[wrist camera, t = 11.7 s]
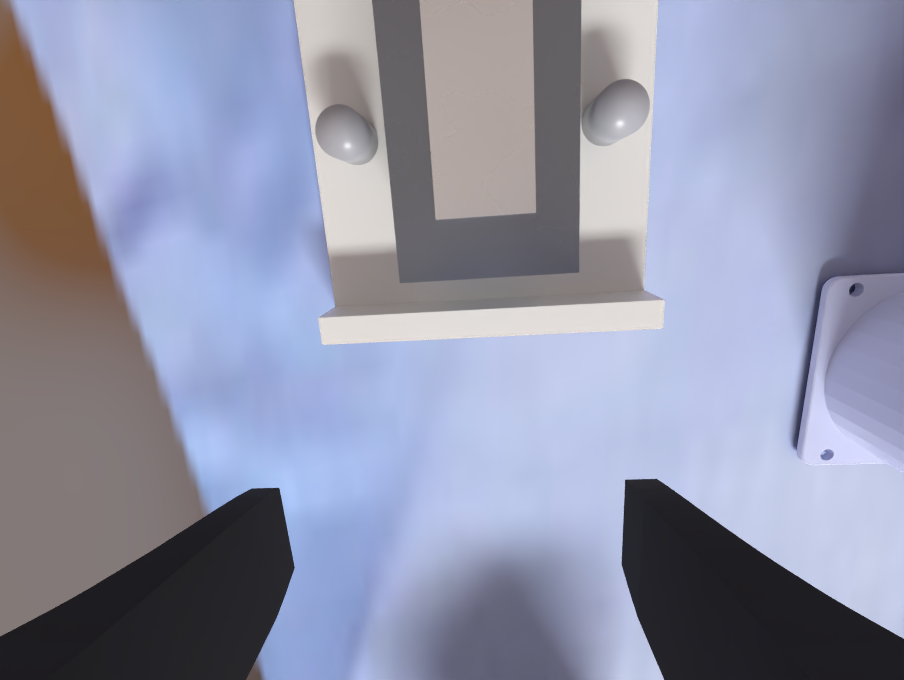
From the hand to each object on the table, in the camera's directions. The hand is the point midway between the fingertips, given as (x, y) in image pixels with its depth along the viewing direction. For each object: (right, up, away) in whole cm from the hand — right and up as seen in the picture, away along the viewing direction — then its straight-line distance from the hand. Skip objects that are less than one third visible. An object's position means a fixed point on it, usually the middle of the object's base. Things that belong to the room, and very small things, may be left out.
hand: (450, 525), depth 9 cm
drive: (+1, +11, +7) cm, 13 cm away
